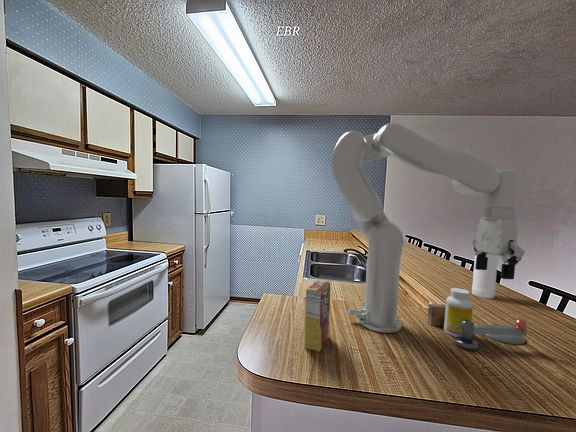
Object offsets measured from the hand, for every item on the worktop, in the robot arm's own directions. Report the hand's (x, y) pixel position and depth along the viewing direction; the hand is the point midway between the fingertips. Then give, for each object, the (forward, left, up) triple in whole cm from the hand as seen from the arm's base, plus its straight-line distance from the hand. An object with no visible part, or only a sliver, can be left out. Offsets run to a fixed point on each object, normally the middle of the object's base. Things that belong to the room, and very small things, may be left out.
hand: (493, 273), depth 79 cm
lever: (-4, -6, -18) cm, 19 cm away
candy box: (-51, -6, -18) cm, 54 cm away
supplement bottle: (-9, +1, -18) cm, 20 cm away
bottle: (+25, +36, -18) cm, 48 cm away
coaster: (+4, +1, -18) cm, 19 cm away
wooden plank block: (-8, +7, -18) cm, 21 cm away
